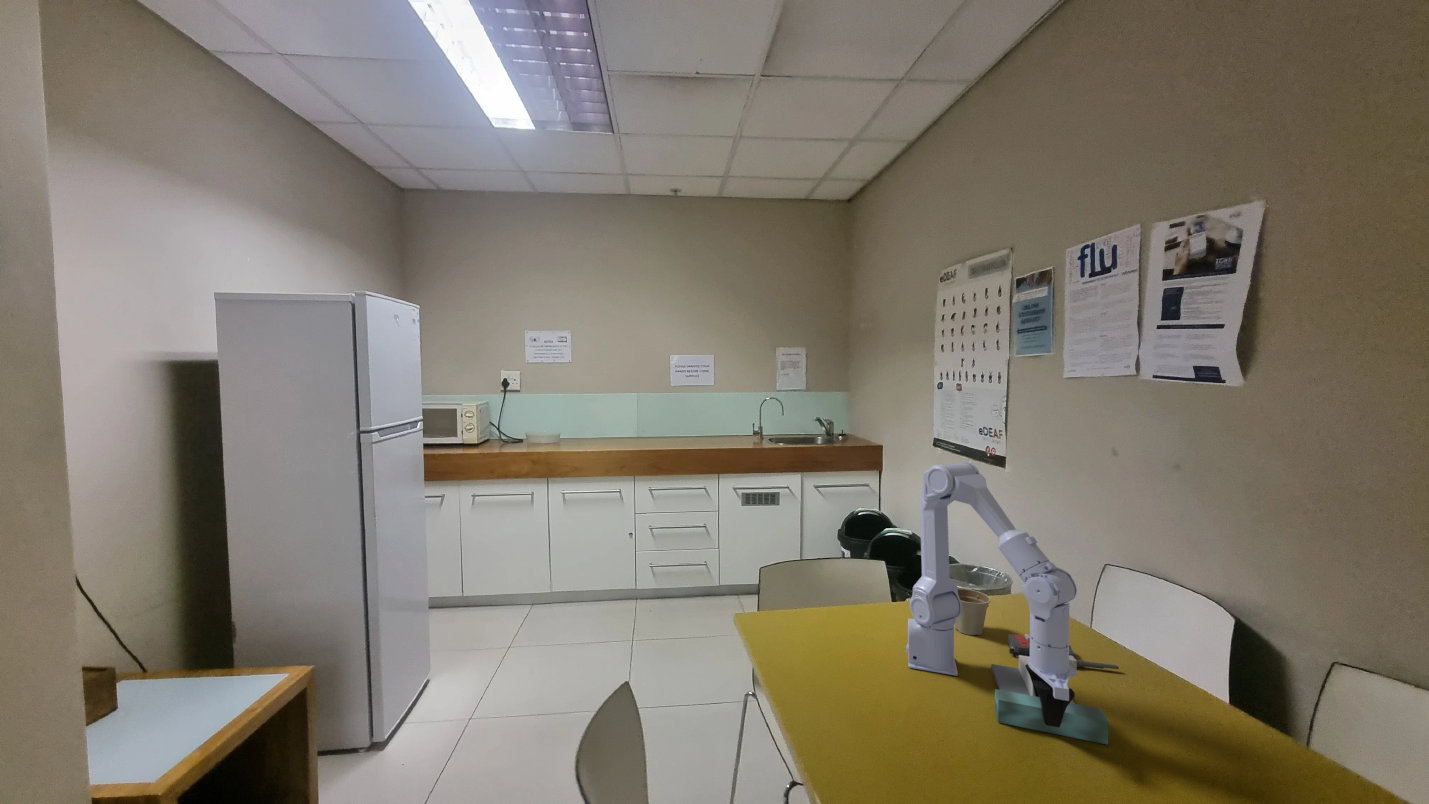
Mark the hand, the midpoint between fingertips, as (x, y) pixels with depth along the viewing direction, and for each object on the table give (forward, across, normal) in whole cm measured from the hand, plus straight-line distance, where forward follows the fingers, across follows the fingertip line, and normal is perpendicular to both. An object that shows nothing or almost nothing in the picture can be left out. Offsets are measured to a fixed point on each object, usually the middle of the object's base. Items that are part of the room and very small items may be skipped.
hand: (1048, 717), depth 87 cm
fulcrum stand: (+2, +12, 0) cm, 12 cm away
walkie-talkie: (+2, +28, -9) cm, 30 cm away
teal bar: (+2, 0, 0) cm, 2 cm away
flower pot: (+2, +36, +8) cm, 37 cm away
